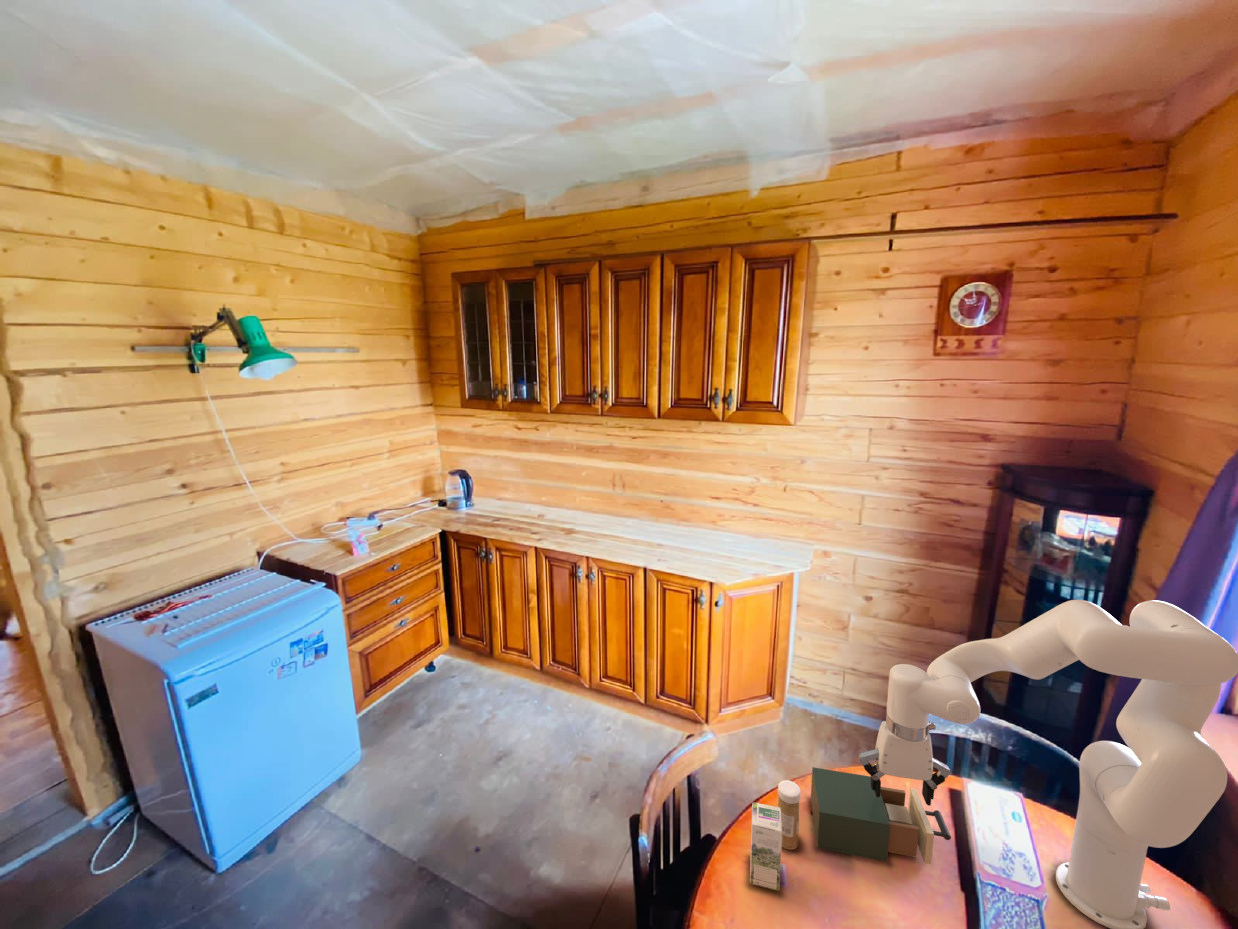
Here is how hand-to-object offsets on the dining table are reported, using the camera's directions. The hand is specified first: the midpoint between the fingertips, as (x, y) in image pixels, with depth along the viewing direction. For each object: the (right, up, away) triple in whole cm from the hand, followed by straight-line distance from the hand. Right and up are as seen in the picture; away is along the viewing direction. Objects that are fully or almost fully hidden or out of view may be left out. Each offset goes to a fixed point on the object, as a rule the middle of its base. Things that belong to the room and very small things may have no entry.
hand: (901, 796), depth 107 cm
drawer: (+1, -10, +2) cm, 10 cm away
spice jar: (-24, -11, +2) cm, 26 cm away
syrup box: (-31, -13, -5) cm, 34 cm away
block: (0, -9, +2) cm, 9 cm away
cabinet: (-10, -10, +5) cm, 15 cm away
